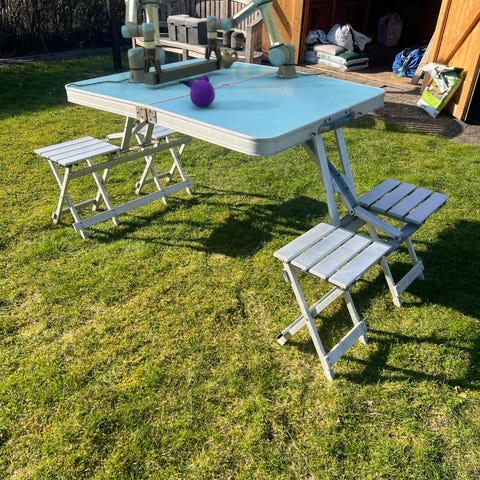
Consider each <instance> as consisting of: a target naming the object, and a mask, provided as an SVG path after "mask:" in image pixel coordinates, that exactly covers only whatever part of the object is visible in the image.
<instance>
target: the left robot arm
mask: <svg viewBox="0 0 480 480" xmlns="http://www.w3.org/2000/svg"><path fill="white" fill-rule="evenodd" d="M161 4H162V0H124V5H125V24H124V25H122V26H121V34H122V37H123V38H125V39H126V38H128V39H134V38H143V46H138V47H132V48H130V49H128V50H127V56H128V57H127V58H128V64H129V65H128V66H129V76H128V78H125V79H122V80H116V81H115V80H106V81H105V80H104V81H98V82H94V83H87V84H76V83H69V84H70V85H69V84H68V85H67V87H70V86H75V87H86V86H92V85H96V84H103V83H122V82H125V81H128V82H129V83H133V84H141V83H145V77H144V73H148V72H151V71H150V70H151V67H153V68H154V71H156V80H157V84H159V85H161V84H160V73H162V70H163V68H162V66H163V65H165V61H166V60H165V59H166V51H165V50H166V49H165V48H163V45H162V44H161V38H160V37H161V36H160V25H159V24H160V23H159V15H158V14H159V12H158V9H159V8H160V5H161ZM139 6H142V7H143V9H144V10H145V20H146V22H142V23H141V24H138V7H139ZM72 131H73V134H75V133H76V132H75V129H73V130H72Z"/></svg>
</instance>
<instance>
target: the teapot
mask: <svg viewBox="0 0 480 480" xmlns="http://www.w3.org/2000/svg"><path fill="white" fill-rule="evenodd" d="M221 56H222V60H221V69H229V68H231V67H232V66H233V65H234V63H236V62H237V61H238V59H239V55H238V51H237V50H232V51H228V49H227V48H224V50H223V51H222V54H221ZM233 56H234V57H233ZM215 59H217V58H216V57H215Z"/></svg>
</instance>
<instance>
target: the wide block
mask: <svg viewBox="0 0 480 480" xmlns="http://www.w3.org/2000/svg"><path fill="white" fill-rule="evenodd" d="M221 70H222V67H221V60H220V69H219V70H217V59H216V58H210V59H209V60H207V59H205V60H201V61H197V62H192V63H187V64H186V63H185V64H182V65H178V66H173V67H172V66H171V67H168V68H162V73H160V84H157V80H156V71H155V70H154V71H150V72H148V73H144V77H145V82H144V84H145V85H147V86H158V85H163V84H167V83H171V82H176V81H181V80H183V79H189V78H193V77H196V76H200V75H204V74H205V75H206V74H208V73H213V72H216V71H221Z"/></svg>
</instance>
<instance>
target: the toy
mask: <svg viewBox="0 0 480 480" xmlns="http://www.w3.org/2000/svg"><path fill="white" fill-rule="evenodd" d="M178 83H179V84H182V85H184V86H185V87H188V88H190V89H189V97H190V101H191V103H192V104H193V105H194V106H196V107H198V108H203V109H205V108H208V107H210V106H211V105H212V104H213V102H214V101H215V98H216V91H215V88H214V85H213V84H212V83H211V82H210V78H209V77H208V76H207V75H202V76H198V77H197V79H196V80H178Z"/></svg>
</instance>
